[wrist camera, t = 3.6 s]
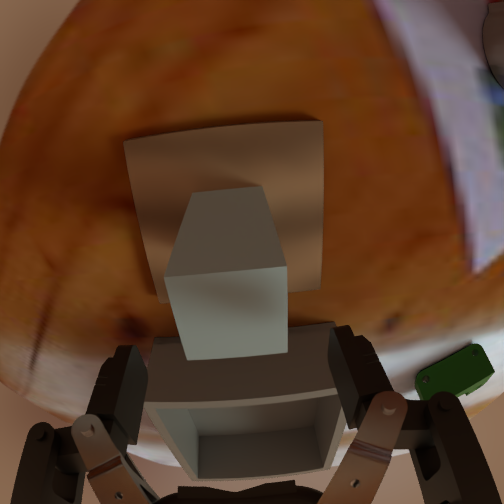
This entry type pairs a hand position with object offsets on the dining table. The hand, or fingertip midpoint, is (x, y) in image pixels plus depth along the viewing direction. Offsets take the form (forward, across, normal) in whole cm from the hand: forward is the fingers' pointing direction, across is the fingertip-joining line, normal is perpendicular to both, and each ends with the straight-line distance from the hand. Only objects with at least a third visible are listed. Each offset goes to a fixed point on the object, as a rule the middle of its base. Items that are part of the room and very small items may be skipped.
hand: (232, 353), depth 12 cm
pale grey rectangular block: (+13, 0, 0) cm, 13 cm away
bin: (+14, 0, +22) cm, 26 cm away
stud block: (+14, 0, 0) cm, 14 cm away
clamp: (+14, -28, +25) cm, 40 cm away
